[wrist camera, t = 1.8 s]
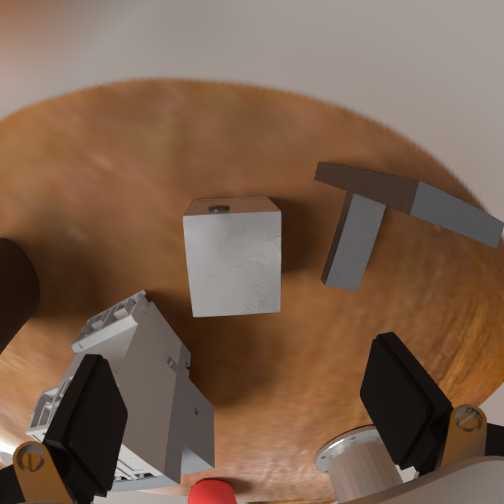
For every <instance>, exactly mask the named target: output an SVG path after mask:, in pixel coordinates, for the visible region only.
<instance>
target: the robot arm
mask: <svg viewBox="0 0 504 504" xmlns="http://www.w3.org/2000/svg"><path fill="white" fill-rule="evenodd" d="M360 397H361V400H362V402H363V404H364V406H365V408H366V410H367V412H368V414H369V416H370V418H371V419H372V421H373V423H374V425H375V426H366V427H362V428H358V429H355V430H352V431H349V432H347V433H345V434H343V435H341V436H339V437H337V438H335V439H333V440H332V441H330V442H329V443H328V444H326V445H325V446H324V447H323V448H322V449H321V450H320V451H319V452H318V453H317V455H316V457H315V461H314V462H315V466H316V468H317V470H318V471H320V472H322V473H325V474H329V476H330V479H331V482H332V485H333V488H334V491H335V494H336V497H337V501H338V504H504V427H503V426H499V425H494V424H490V423H487V419H486V416H485V414H484V412H483V411H482V410H481V409H480V408H478V407H477V406H474V405H471V404H462V405H459V406H457V407H455V409H454V408H453V407H452V405H451V404H452V403H451V402H450V401H449V400H448V398H447V397H446V396H445V394H444V393H443V392H442V391H441V389H440V388H439V387H438V385H437V384H436V383H435V382H434V380H433V379H432V378H431V377H430V375H429V374H428V373H427V372H426V370H425V369H424V368H423V367H422V365H421V364H420V363H419V362H418V361H417V359H416V358H415V357H414V356H413V354H412V353H411V352H410V351H409V350H408V348H407V347H406V346H405V345H404V344H403V342H402V341H401V340H400V339H399V338H398V337H397V335H396V334H395V333H394V332H388V333H383V334H379V335H377V337H376V339H374V340H373V341H372V345H371V350H370V354H369V358H368V363H367V367H366V371H365V375H364V379H363V382H362V386H361V390H360ZM127 419H128V411H127V408H126V405H125V403H124V401H123V398H122V396H121V393H120V391H119V389H118V386H117V384H116V381H115V378H114V376H113V373H112V370H111V368H110V365H109V362H108V360H107V359H104V358H103V356H102V355H100V354H85V356H84V357H83V359H82V361H81V363H80V365H79V367H78V369H77V371H76V373H75V375H74V377H73V378H72V380H71V382H70V384H69V386H68V388H67V390H66V391H65V393H64V395H63V397H62V399H61V401H60V404H59V406H58V408H57V410H56V412H55V414H54V416H53V419H52V421H51V423H50V425H49V427H48V430H47V432H46V434H45V437H44V439H43V441H42V443H39V442H37V441H28V442H25V443H23V444H21V445H20V446H19V447H18V448H17V449H16V450H15V452H14V454H13V464H12V465H10V466H8V467H5V468H3V469H1V470H0V504H94V503H93V499H94V495H95V496H100V497H106V495H107V491H111V489H112V486H113V481H114V476H115V471H116V467H117V462H118V457H119V453H120V449H121V444H122V440H123V436H124V432H125V428H126V423H127ZM395 465H399V467H400V469H401V470H404V469H407V468H409V467H412V466H414V468H415V470H416V474H415V477H414V479H413V480H411V481H408V482H405V483H403V481H402V479H401V477H400V475H399V472H398V471H397V468H396V466H395Z"/></svg>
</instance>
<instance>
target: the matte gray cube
mask: <svg viewBox="0 0 504 504" xmlns="http://www.w3.org/2000/svg"><path fill="white" fill-rule="evenodd" d="M183 225H184V237H185V248H186V258H187V268H188V277H189V286H190V295H191V303H192V311H193V317H208V316H227V315H243V314H258V313H271V312H280V298H281V211H280V210H279V209H278V208H277V207H276V206H275V205H274V203H273V202H272V201H271V200H270V199H269V198H268V197H267V196H261V197H235V198H215V199H198V200H192V201H191V203H190V205H189V206H188V208H187V210H186V212H185V213H184V215H183Z"/></svg>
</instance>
